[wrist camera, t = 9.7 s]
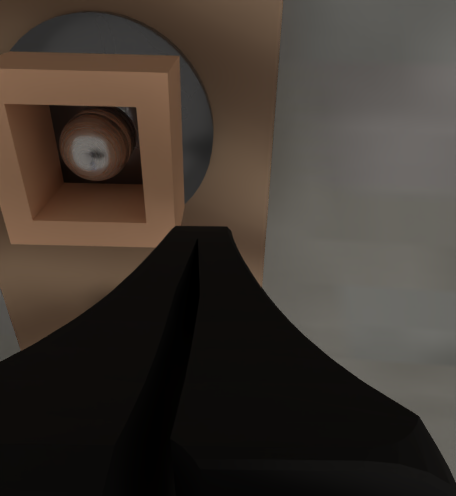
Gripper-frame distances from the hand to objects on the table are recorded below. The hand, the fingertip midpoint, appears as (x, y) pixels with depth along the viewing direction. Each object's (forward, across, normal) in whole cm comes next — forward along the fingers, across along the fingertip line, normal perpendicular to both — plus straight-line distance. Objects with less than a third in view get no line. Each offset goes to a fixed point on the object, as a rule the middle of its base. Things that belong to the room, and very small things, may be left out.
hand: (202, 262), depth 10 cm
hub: (+7, +4, -1) cm, 8 cm away
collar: (+6, +4, -1) cm, 7 cm away
